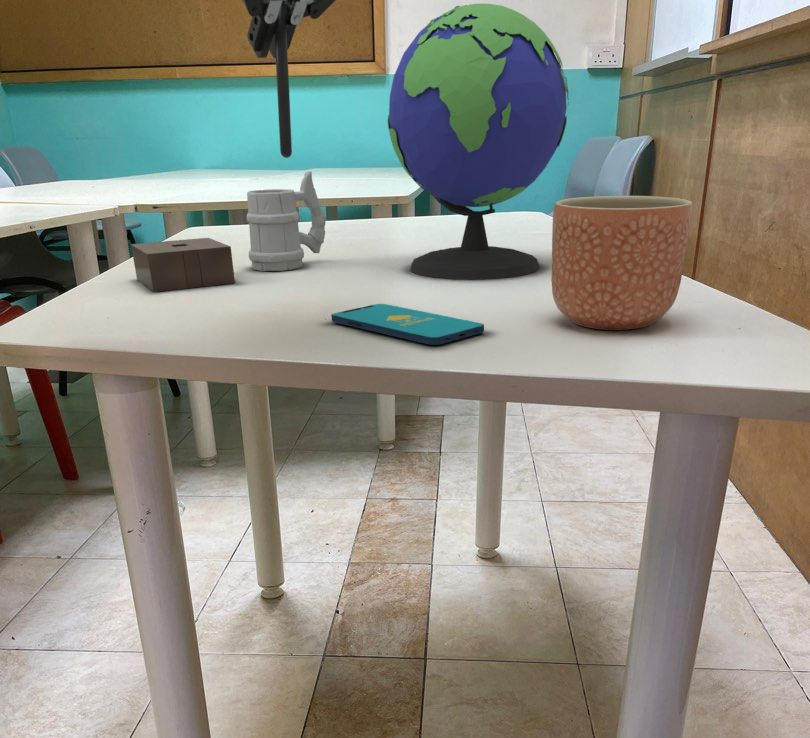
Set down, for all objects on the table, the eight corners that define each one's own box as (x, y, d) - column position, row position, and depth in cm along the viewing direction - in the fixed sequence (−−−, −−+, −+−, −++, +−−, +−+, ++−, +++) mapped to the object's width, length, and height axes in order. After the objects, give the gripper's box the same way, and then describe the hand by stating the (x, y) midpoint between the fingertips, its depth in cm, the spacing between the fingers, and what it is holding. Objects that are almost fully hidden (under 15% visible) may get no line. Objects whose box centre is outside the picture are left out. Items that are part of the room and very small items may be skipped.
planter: (523, 317, 82) (528, 200, 77) (622, 304, 86) (633, 193, 81) (596, 344, 72) (608, 211, 67) (705, 327, 76) (724, 202, 71)
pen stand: (153, 292, 99) (147, 253, 97) (136, 280, 107) (130, 244, 105) (235, 283, 103) (230, 246, 101) (213, 272, 111) (208, 237, 109)
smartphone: (434, 336, 72) (327, 312, 81) (434, 346, 72) (327, 321, 82) (488, 324, 76) (380, 302, 86) (488, 332, 76) (381, 310, 86)
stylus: (283, 158, 78) (274, -7, 71) (279, 157, 78) (270, -6, 71) (293, 158, 78) (286, -6, 71) (289, 156, 79) (282, -6, 72)
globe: (369, 280, 103) (356, -3, 89) (417, 253, 122) (413, 17, 108) (545, 285, 97) (561, -17, 83) (567, 256, 116) (584, 6, 102)
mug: (240, 267, 114) (230, 174, 109) (313, 258, 120) (307, 169, 115) (264, 273, 109) (255, 176, 103) (340, 264, 115) (334, 171, 109)
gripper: (376, -172, 65) (309, 23, 80) (224, -203, 58) (180, 18, 73) (419, -104, 64) (343, 82, 78) (268, -127, 57) (215, 83, 71)
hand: (265, 51), depth 75 cm, fingers closed on stylus, 1 cm apart
